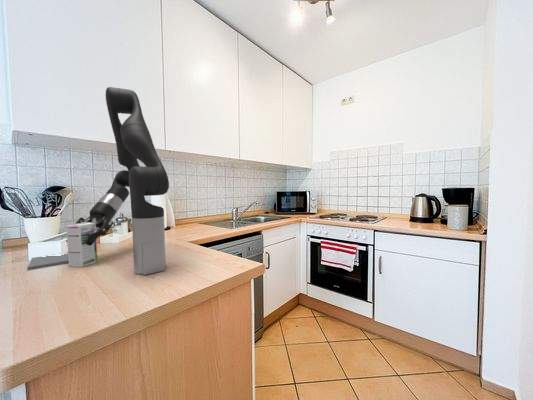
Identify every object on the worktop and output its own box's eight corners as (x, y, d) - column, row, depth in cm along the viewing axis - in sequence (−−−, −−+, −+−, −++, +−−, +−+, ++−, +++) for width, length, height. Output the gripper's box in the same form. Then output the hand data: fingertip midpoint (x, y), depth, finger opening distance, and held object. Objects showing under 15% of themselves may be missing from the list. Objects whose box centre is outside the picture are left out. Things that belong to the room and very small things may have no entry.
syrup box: (82, 267, 77) (79, 224, 76) (68, 266, 78) (65, 224, 77) (97, 262, 82) (95, 222, 81) (84, 261, 83) (82, 222, 83)
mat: (75, 262, 82) (75, 259, 82) (27, 270, 74) (27, 267, 74) (74, 254, 93) (74, 251, 93) (32, 260, 85) (32, 257, 85)
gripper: (85, 201, 88) (53, 237, 77) (115, 201, 84) (86, 238, 74) (99, 213, 93) (70, 248, 83) (128, 213, 90) (102, 250, 79)
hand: (78, 243), depth 78 cm, fingers open, 8 cm apart
